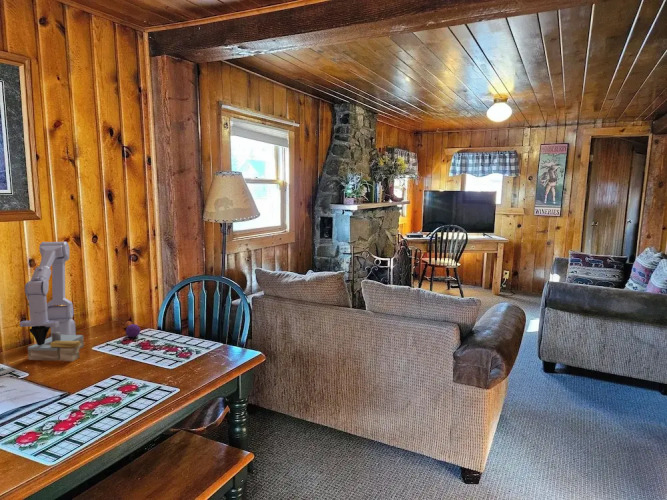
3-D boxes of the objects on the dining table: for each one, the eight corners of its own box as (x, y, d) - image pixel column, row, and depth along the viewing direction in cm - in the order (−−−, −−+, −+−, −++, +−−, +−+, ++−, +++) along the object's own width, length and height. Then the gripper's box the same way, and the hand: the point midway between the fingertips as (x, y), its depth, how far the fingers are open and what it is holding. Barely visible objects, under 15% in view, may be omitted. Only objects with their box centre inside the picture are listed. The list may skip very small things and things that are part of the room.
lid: (56, 338, 184) (55, 326, 183) (83, 339, 183) (82, 327, 183) (28, 352, 168) (26, 338, 168) (57, 353, 168) (56, 339, 167)
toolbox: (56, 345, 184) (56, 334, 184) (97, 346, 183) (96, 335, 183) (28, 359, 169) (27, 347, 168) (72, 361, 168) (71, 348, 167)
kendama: (135, 318, 213) (141, 325, 196) (134, 330, 213) (139, 338, 196) (122, 317, 210) (127, 325, 193) (120, 330, 210) (125, 338, 193)
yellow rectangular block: (55, 344, 171) (55, 340, 171) (80, 344, 170) (79, 341, 170) (50, 346, 168) (50, 343, 168) (75, 347, 167) (75, 343, 167)
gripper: (12, 313, 164) (15, 347, 166) (49, 314, 164) (51, 348, 165) (26, 308, 171) (29, 341, 173) (61, 309, 171) (64, 342, 172)
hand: (41, 344), depth 170 cm, fingers closed
